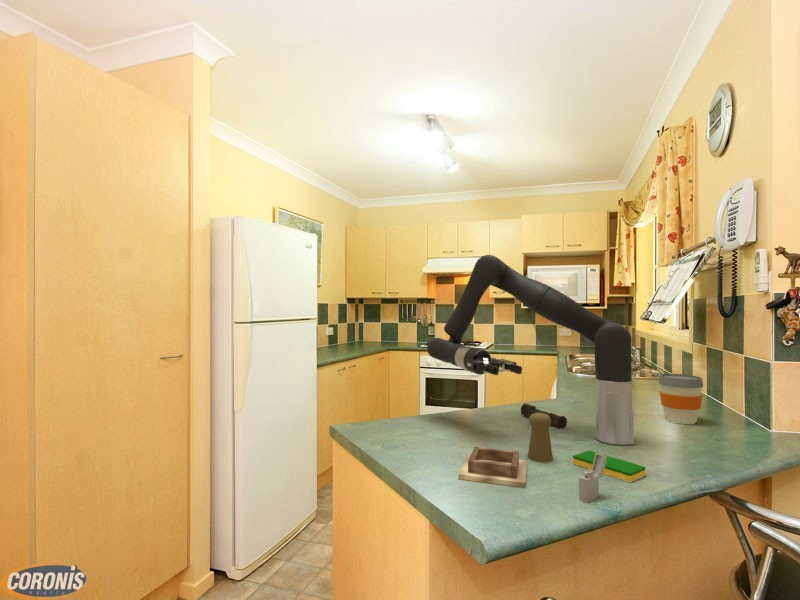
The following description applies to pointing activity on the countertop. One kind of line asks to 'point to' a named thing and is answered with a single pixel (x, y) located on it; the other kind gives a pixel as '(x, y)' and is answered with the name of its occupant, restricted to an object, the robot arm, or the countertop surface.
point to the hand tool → (555, 419)
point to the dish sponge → (611, 466)
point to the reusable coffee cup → (680, 397)
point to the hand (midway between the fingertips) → (509, 371)
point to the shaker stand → (494, 467)
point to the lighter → (592, 479)
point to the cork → (540, 438)
